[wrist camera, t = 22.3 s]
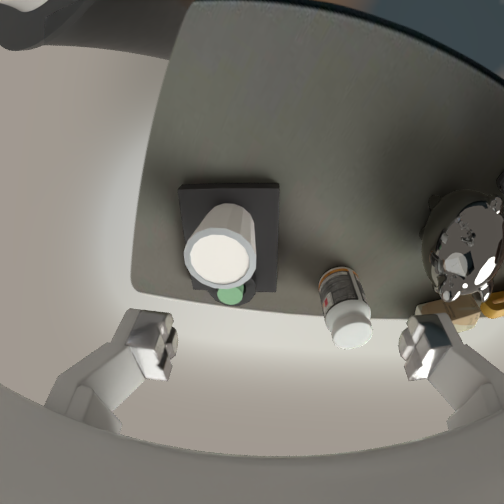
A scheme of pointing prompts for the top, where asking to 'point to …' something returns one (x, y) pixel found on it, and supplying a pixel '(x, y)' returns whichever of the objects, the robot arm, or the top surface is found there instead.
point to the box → (454, 311)
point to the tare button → (231, 295)
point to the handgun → (501, 182)
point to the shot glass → (222, 248)
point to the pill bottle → (345, 308)
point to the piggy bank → (463, 243)
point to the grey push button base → (264, 217)
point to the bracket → (494, 305)
